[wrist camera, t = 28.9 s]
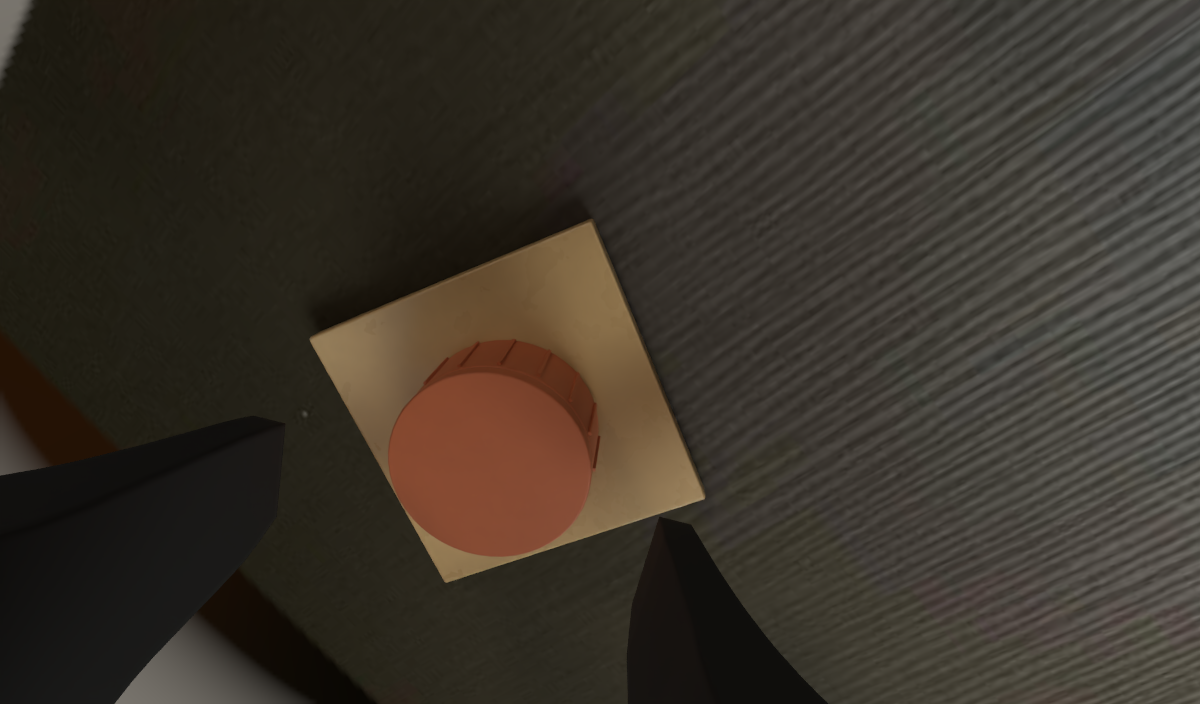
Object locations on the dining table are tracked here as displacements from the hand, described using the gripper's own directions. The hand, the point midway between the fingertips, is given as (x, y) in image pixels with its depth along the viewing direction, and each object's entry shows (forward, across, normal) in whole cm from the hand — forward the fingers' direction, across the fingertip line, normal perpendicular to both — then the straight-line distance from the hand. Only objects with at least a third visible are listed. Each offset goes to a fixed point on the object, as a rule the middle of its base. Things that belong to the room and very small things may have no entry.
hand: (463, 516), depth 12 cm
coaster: (+5, 0, 0) cm, 5 cm away
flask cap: (+2, 0, 0) cm, 2 cm away
